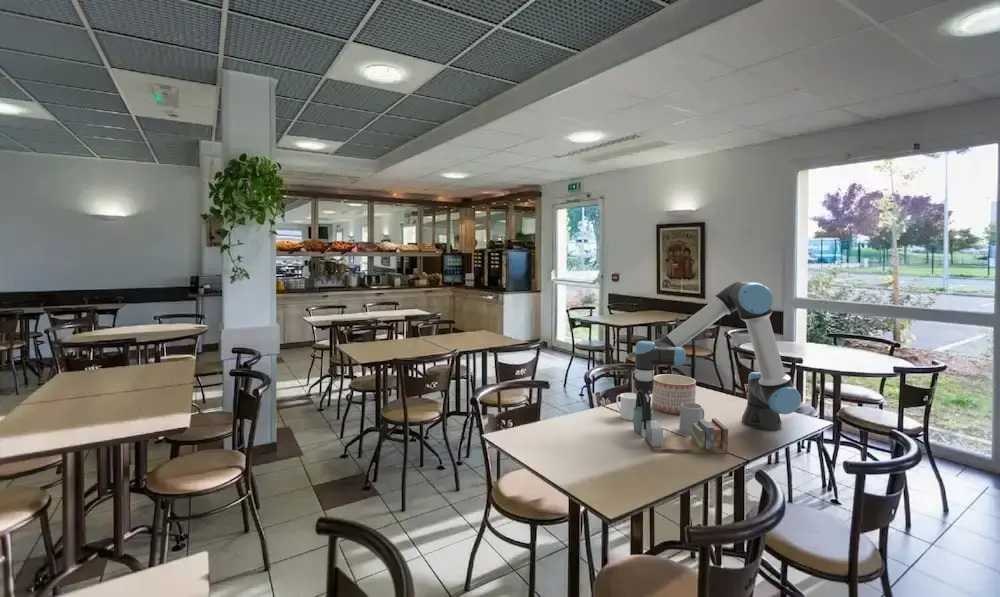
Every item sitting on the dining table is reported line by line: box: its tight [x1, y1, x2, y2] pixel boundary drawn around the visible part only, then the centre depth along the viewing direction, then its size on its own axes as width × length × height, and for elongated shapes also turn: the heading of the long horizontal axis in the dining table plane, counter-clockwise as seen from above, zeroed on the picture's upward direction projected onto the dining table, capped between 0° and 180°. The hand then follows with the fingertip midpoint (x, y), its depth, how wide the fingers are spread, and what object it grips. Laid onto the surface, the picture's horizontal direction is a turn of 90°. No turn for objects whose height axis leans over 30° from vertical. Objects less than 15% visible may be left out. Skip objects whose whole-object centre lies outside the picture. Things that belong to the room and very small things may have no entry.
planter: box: [651, 373, 697, 416], centre depth 232 cm, size 19×19×15 cm
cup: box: [632, 407, 654, 435], centre depth 202 cm, size 8×8×10 cm
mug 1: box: [615, 392, 637, 422], centre depth 221 cm, size 11×9×10 cm
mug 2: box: [679, 402, 705, 435], centre depth 206 cm, size 12×8×11 cm
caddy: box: [644, 417, 729, 454], centre depth 189 cm, size 28×12×9 cm, turn 88°
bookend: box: [646, 420, 664, 447], centre depth 189 cm, size 4×9×7 cm, turn 178°
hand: (642, 432), depth 203 cm, fingers open, 9 cm apart
